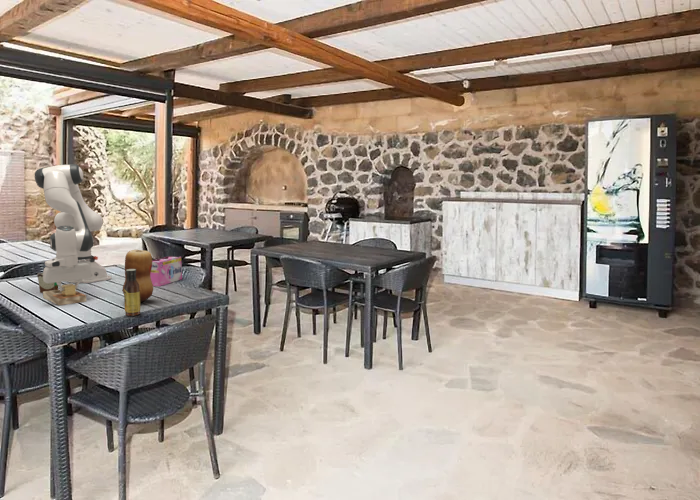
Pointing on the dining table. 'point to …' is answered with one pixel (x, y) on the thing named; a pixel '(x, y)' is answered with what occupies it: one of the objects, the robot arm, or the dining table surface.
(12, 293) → the dining table surface
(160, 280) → the gum box
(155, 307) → the dining table surface
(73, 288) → the brass peg
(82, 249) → the robot arm
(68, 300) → the rail
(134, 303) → the sauce bottle
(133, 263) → the butternut squash
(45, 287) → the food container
